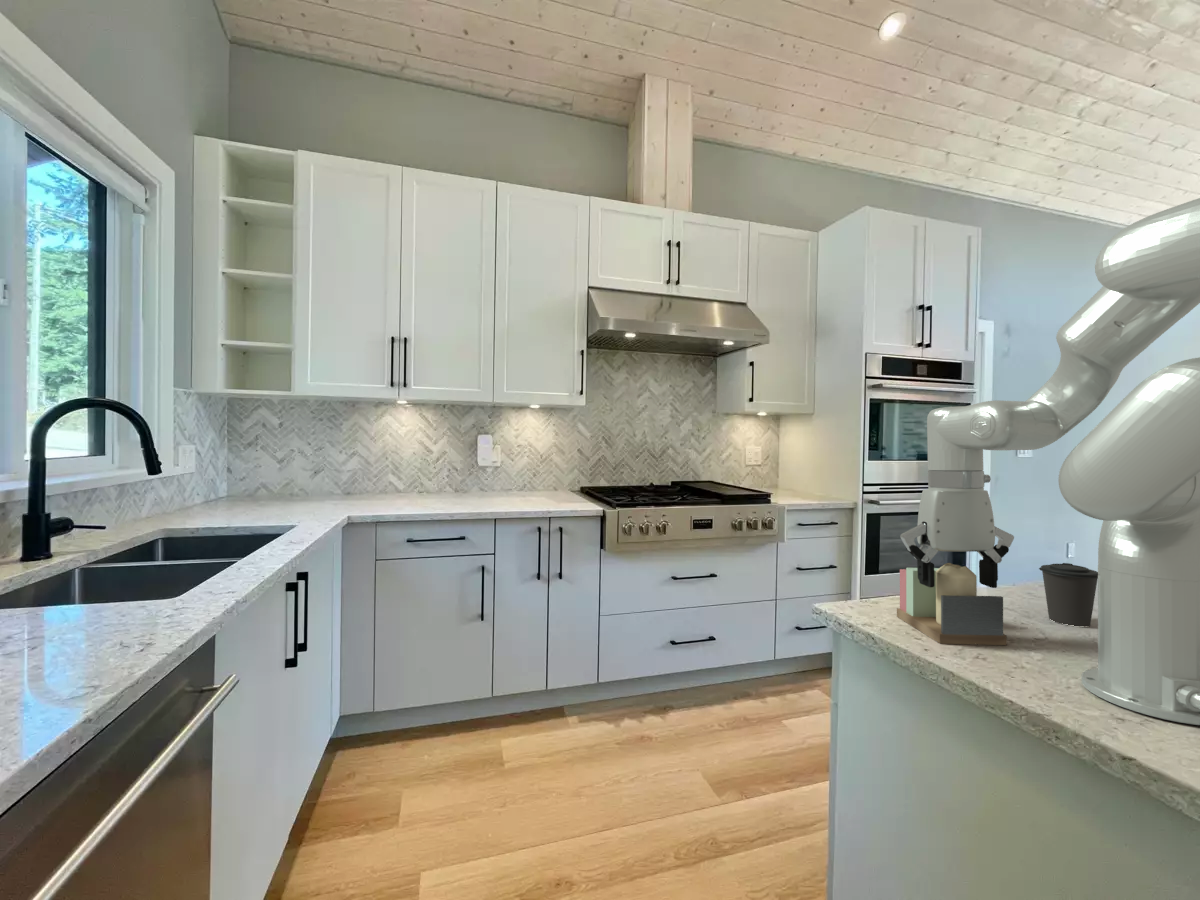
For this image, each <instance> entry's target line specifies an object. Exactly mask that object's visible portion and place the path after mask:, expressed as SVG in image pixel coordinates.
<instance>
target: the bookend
mask: <svg viewBox="0 0 1200 900" xmlns="http://www.w3.org/2000/svg"><path fill="white" fill-rule="evenodd" d="M941 633H942V634H953V635H999V636H1003V634H1004V596H1001V595H977V596H959V595H941Z"/></svg>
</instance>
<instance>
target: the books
mask: <svg viewBox="0 0 1200 900" xmlns="http://www.w3.org/2000/svg"><path fill="white" fill-rule="evenodd" d="M939 568H940V567H934V584H935V585H934V587H927V586H925V585H923V584H921V583H920V582H919V579H918V571H917V567H906V568H903V569H902V568H900V569H899V608H900V609H901V610H903V611H905V612H906V613H908V614H910V615H911V616H913V617H936V571H937V570H938V569H939Z"/></svg>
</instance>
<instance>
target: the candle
mask: <svg viewBox="0 0 1200 900" xmlns="http://www.w3.org/2000/svg"><path fill="white" fill-rule="evenodd" d="M938 568H939V569H938V570H937V571H936V622H937V623H938V624H939V625H941V595H959V596H978V595H977V594H978V593H977V592H978V591H977V589H978V588H977V587H978V585H977V577H978V576H977V574H975V573H974V572H973V571H972V570H971V569H969V567H967V566H966V565H965V566H962V565H959V564H953V563H951V562H947V563H944V564H943V565H941V566H940V567H938Z"/></svg>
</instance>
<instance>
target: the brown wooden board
mask: <svg viewBox="0 0 1200 900" xmlns="http://www.w3.org/2000/svg"><path fill="white" fill-rule="evenodd" d="M896 617H897V618H898V619H900V620H901V621H903V622H905V623H906V624H908V625H909V626H910V627H913V629H916V630H917V631H919V632H920V631H921V632H920V633H923V634H924V635H925V634H926V635H925V636H927V637H928V636H929V638H930V639H931V640H933V641H935V642H936V641H937V642H936V643H938V644H939V643H941V645H976V646H978V645H979V646H980V645H982V646H983V645H984V646H1007V643H1008V642H1007V641H1008V640H1007V639H1008V638H1007V637H1008V635H1006V634H1005V633H1003V636H999V635H953V634H942V633H941V625H939V624H938V623H937V622H936V617H913V616H911V615H910V614H908V613H906V612H905V611H903V610H901V609H900V607H899V608H898V607H897V608H896ZM977 644H978V645H977Z"/></svg>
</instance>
